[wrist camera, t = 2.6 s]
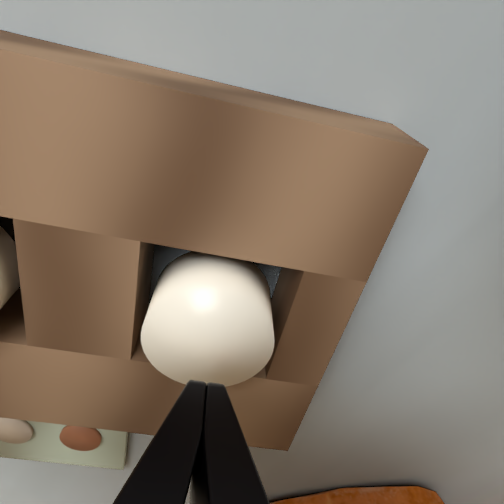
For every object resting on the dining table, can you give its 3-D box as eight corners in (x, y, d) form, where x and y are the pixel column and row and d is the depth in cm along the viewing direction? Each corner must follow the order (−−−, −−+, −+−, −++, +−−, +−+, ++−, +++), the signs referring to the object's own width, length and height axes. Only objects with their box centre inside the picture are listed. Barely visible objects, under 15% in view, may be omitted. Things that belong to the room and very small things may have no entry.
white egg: (283, 261, 11) (289, 303, 10) (256, 346, 13) (257, 394, 11) (161, 238, 11) (146, 279, 9) (151, 330, 13) (136, 378, 11)
